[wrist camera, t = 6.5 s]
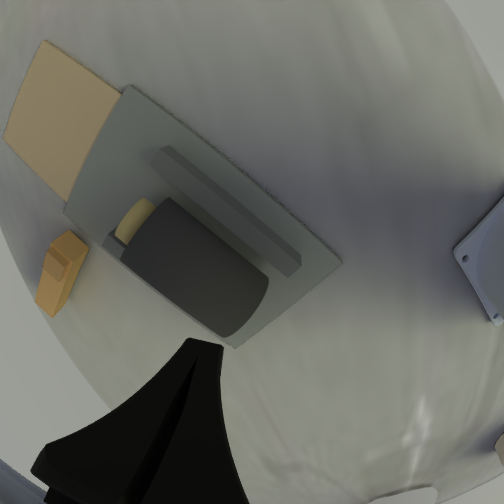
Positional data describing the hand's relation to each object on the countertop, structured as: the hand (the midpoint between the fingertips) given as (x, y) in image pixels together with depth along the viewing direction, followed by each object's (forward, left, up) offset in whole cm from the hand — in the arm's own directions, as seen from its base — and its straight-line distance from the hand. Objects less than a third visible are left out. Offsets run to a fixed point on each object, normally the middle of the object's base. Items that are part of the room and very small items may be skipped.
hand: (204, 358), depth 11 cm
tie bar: (+9, +9, -7) cm, 15 cm away
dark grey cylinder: (+2, 0, -7) cm, 7 cm away
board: (+7, 0, -7) cm, 10 cm away
